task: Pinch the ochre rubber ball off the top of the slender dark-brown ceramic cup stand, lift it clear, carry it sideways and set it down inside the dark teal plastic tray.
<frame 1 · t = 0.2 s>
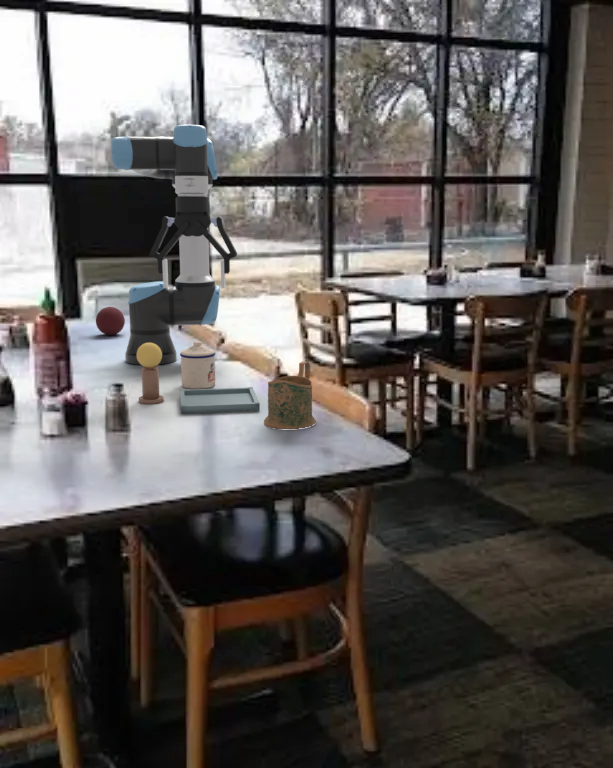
hand: (194, 287, 188), 27 cm above the table, fingers open, 13 cm apart
ball: (149, 355, 190), point 11 cm above the table, touching stand cup
brown green vessel: (294, 420, 178), on the table
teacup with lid: (198, 384, 210), on the table
stand cup: (151, 401, 193), on the table
tray: (218, 403, 191), on the table
decorative ball: (111, 335, 282), on the table
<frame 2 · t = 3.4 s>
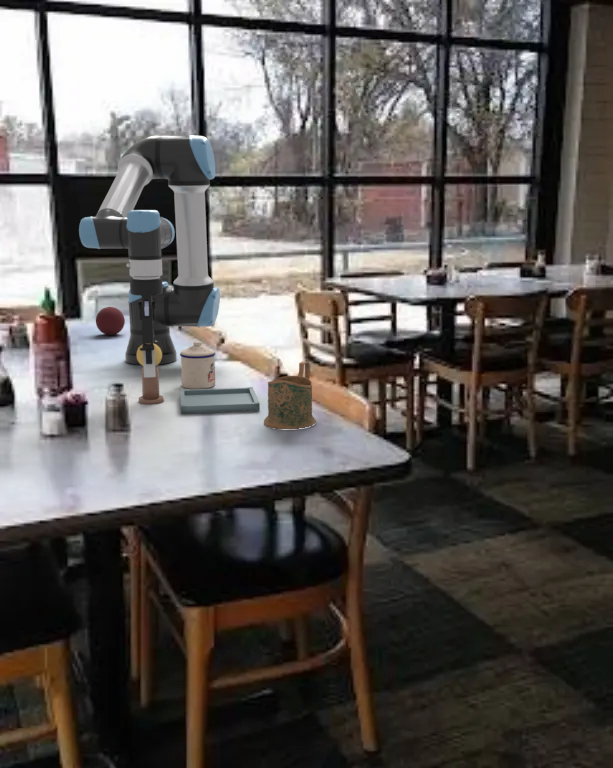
hand: (150, 373, 191), 7 cm above the table, fingers closed on ball, 6 cm apart
ball: (149, 355, 190), point 11 cm above the table, touching gripper, stand cup
everything else where it was.
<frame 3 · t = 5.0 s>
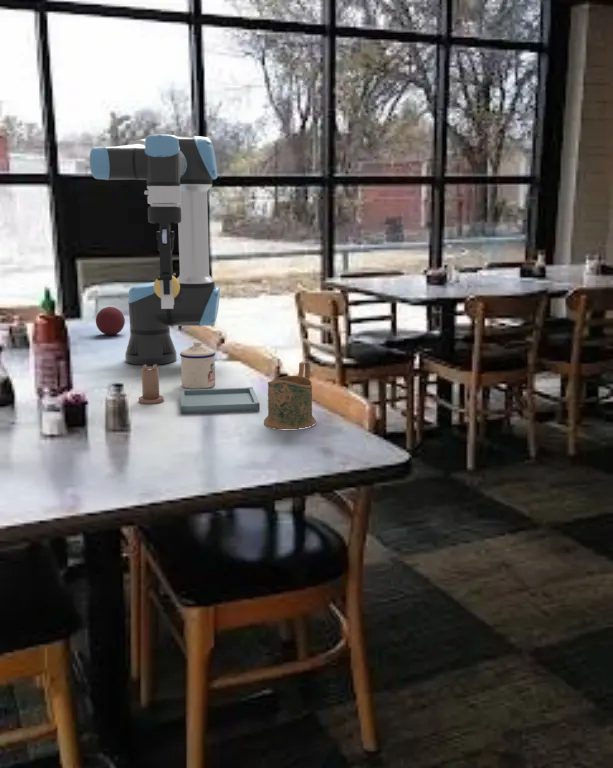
hand: (167, 306, 187), 23 cm above the table, fingers closed on ball, 6 cm apart
ball: (166, 287, 186), point 28 cm above the table, touching gripper
everything else where it was.
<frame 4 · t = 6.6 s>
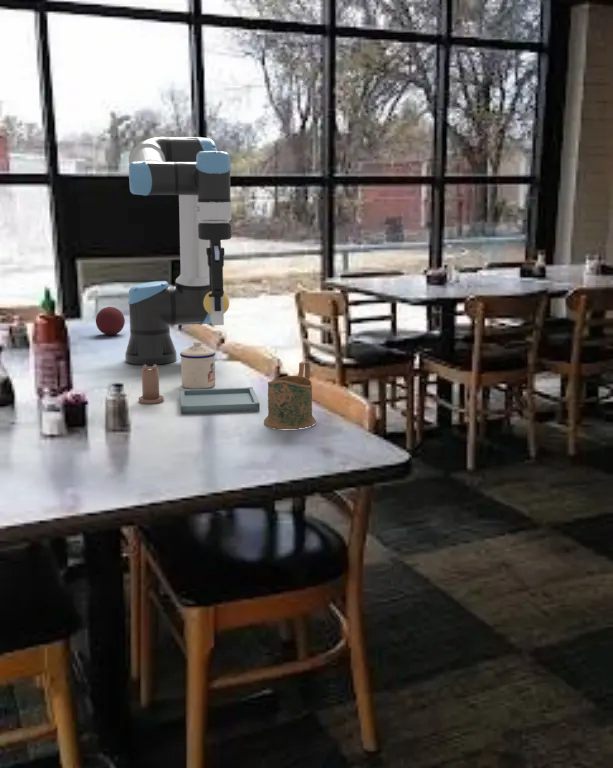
hand: (216, 322, 186), 20 cm above the table, fingers closed on ball, 6 cm apart
ball: (216, 303, 185), point 24 cm above the table, touching gripper
everything else where it was.
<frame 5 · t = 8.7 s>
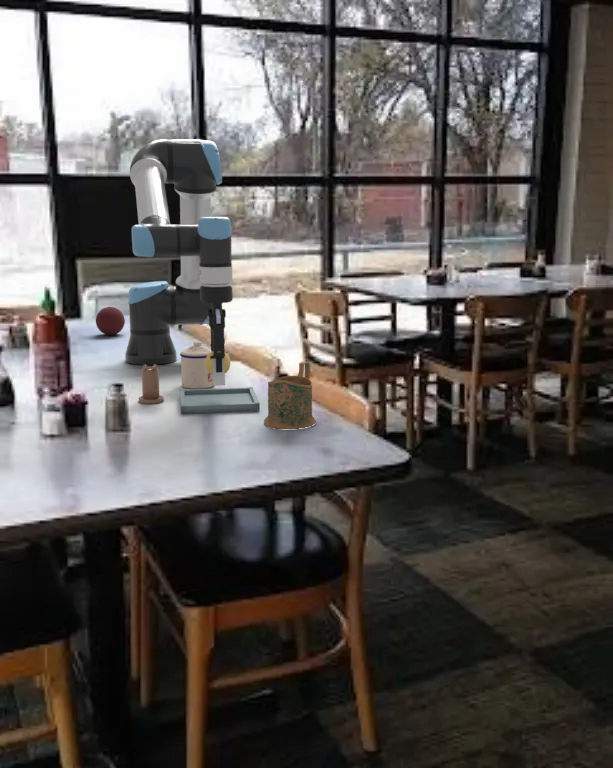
hand: (218, 381, 189), 5 cm above the table, fingers closed on ball, 6 cm apart
ball: (217, 363, 188), point 10 cm above the table, touching gripper
everything else where it was.
when the fingers open (2 cm above the table, at t = 10.3 s): ball drops 3 cm, resting on tray.
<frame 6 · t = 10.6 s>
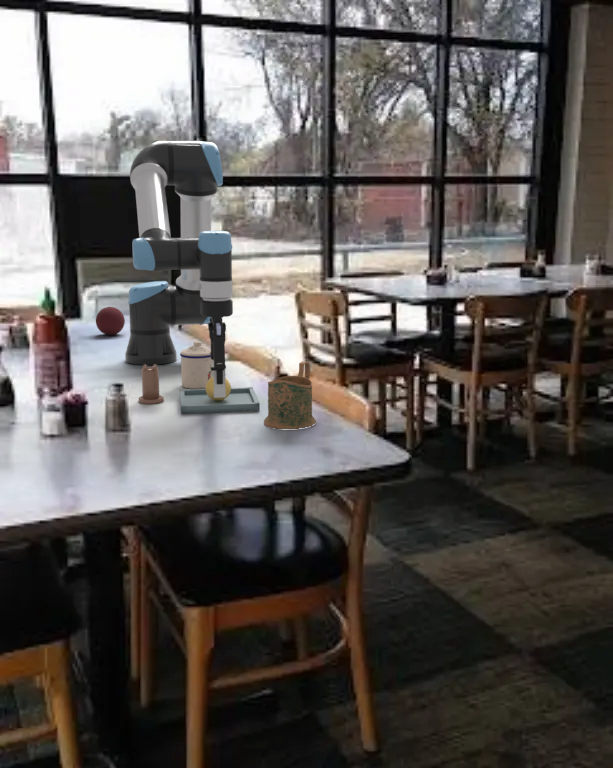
hand: (218, 391, 190), 3 cm above the table, fingers open, 10 cm apart
ball: (218, 388, 190), point 4 cm above the table, touching tray
everything else where it was.
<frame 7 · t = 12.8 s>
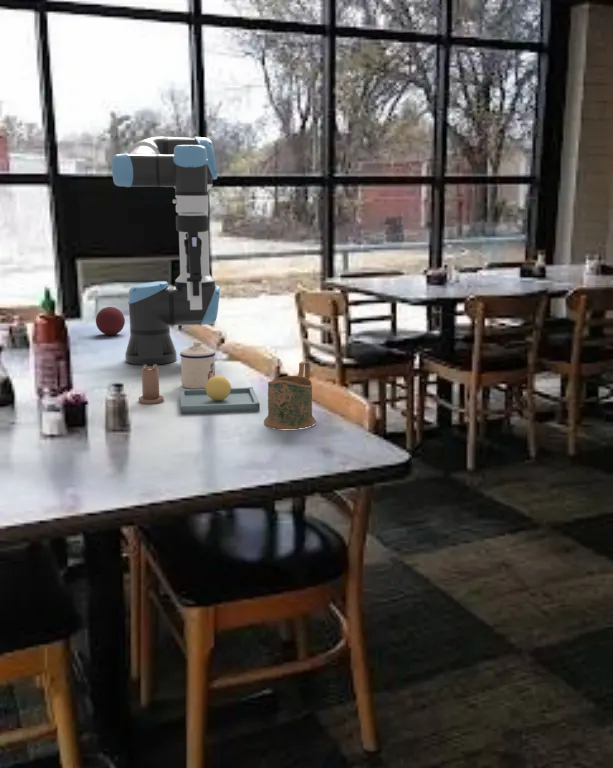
hand: (194, 304, 190), 23 cm above the table, fingers open, 13 cm apart
nothing on the table moved.
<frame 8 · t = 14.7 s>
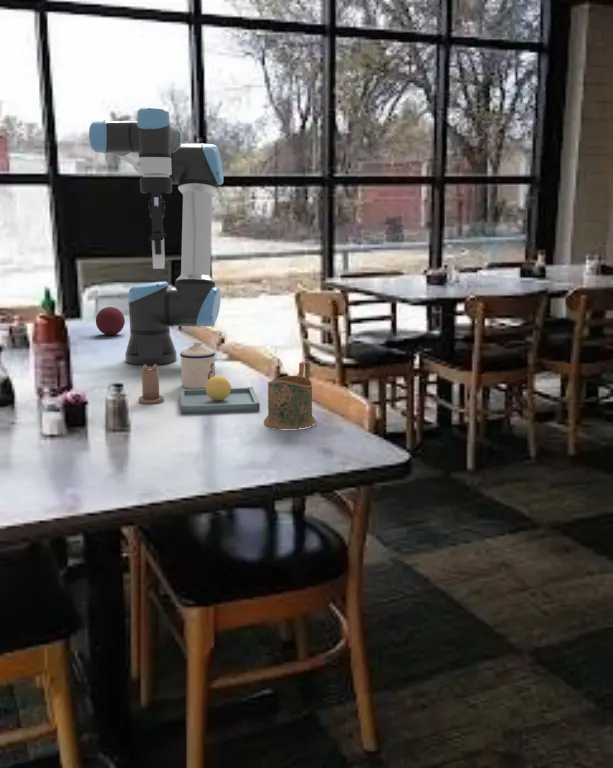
hand: (159, 266, 195), 32 cm above the table, fingers open, 13 cm apart
nothing on the table moved.
at the end: ball inside the target area on the tray (0.1 cm from its centre), point 3.8 cm above the tray's base; the gripper is holding nothing; ball touching tray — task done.
